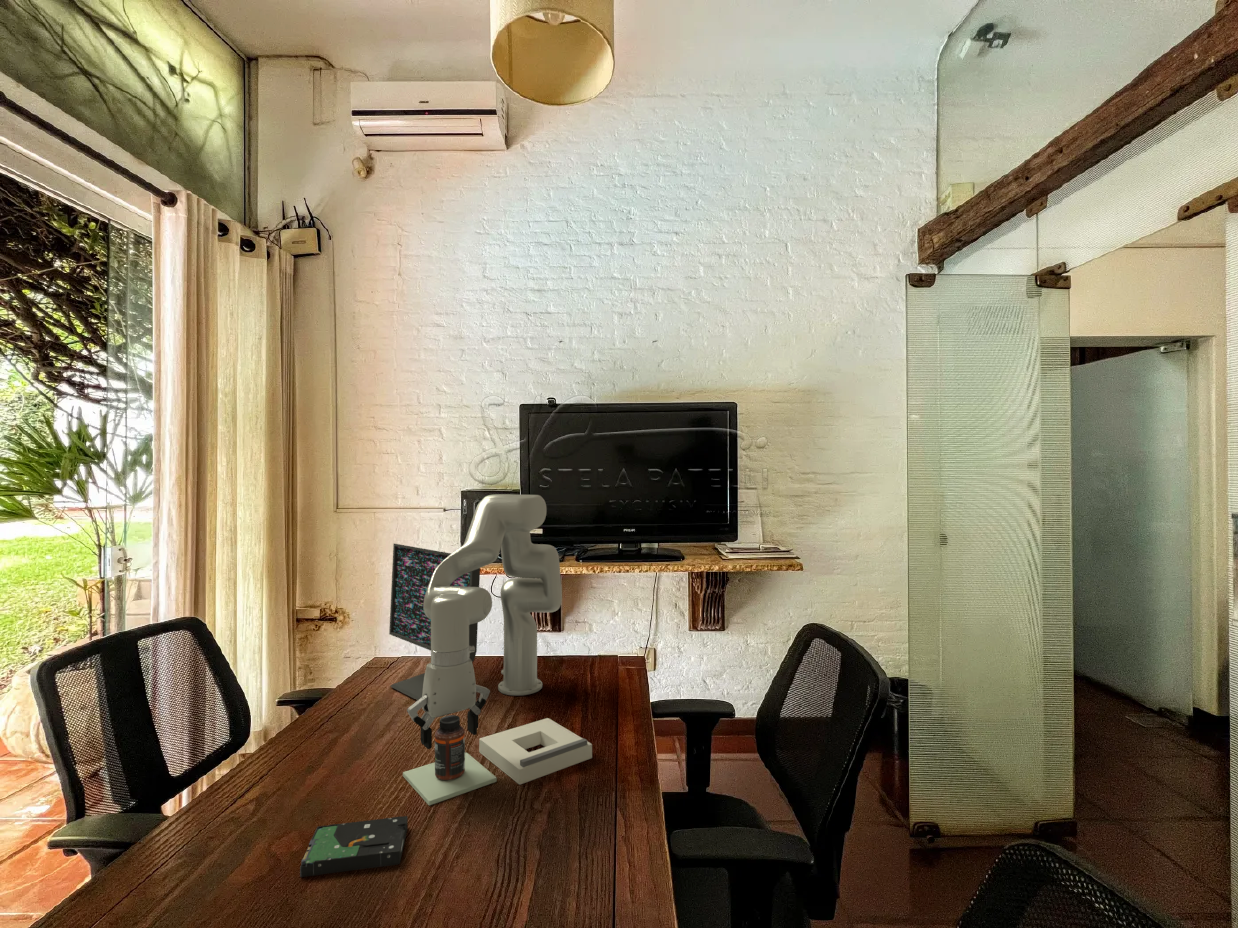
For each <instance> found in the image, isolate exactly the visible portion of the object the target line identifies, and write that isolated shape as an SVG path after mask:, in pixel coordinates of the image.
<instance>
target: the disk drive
mask: <svg viewBox="0 0 1238 928" xmlns="http://www.w3.org/2000/svg"><path fill="white" fill-rule="evenodd" d="M408 818H409V817H408V816H407V815H406V816H401V815H400V816H393V817H386V818H385V817H384V818H378V819H370V820H363V821H362V820H361V821H351V822H344V823H337V824H336V823H335V824H334V823H332V824H329V825H320V826H319V825H318V826H316V829H315V831H314V832H313V835H312V837H311V839H310V841H309V843H308V847H307V849H306V851H305V853H304V856H303V858H302V859H301V861H300V862H301V865H300V866H299V878H303V877H312V876H314V877H315V876H322V875H328V874H335V873H336V874H337V873H343V872H351V871H358V870H365V869H373V868H380V867H381V868H383V867H390V866H396V865H400V864H401V859H402V855H403V851H404V846H405V840H406V837H407V832H408V828H409V827H408V825H409V824H408Z"/></svg>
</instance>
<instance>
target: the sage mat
mask: <svg viewBox="0 0 1238 928" xmlns="http://www.w3.org/2000/svg"><path fill="white" fill-rule="evenodd" d="M402 777H403V778H404V779H405V780H406V781H407V783H409V785H410V786H411V787H412V788H413V789H414V790H415V792H416V793H417V794H418V795H419V796H420V797H421V798H422V800H423V801H424V802H425V803H426V804H427V805H428V806H432V805H435V804H438V803H441V802H443V801H446V800H448V799H452V798H455V797H457V796H460V795H463V794H466V793H468V792H472V791H474V790H476V789H479V788H482V787H485V786H488V785H490V784H494V783H496V782H498V781H497V780H498V779H497V776H496V775H494V774H493V773H492V772H491V771H489V769H487V768H486V767H485V766H484V765H482V764H481V763H480V762H479V761H478V760H476V759H475V758H474V757H473V756H471V754H470V753H468V752H466V751H465V771H464V773H463V774H462V775H461V776H460V777H458V778H456V779H453V780H440V779H438V778H437V777H436V776H435V761H434V762H431V763H429V764H425V765H422V766H419V767H415V768H413V769H410V770H406V771H403V772H402Z"/></svg>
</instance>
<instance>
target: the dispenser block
mask: <svg viewBox="0 0 1238 928" xmlns="http://www.w3.org/2000/svg"><path fill="white" fill-rule="evenodd" d="M540 745H541V746H543V747H541V748H538V749H536V750H531V751H527V749H529V748H530V749H531V748H534V747H536V746H540ZM478 752H479V753H480V755H482V756H484V757H485V758H486V759H487V760H488V761H489V762H491V763H492V764H493V765H494V766H496V767H497V768H498V769H500V771H502V772H503V773H505V774H506V775H507V776H508V777H510V778H511V779H512V780H513V781H514V782H515V783H516V784H518V785H522V784H525V783H528V782H531V781H534V780H536V779H539V778H541V777H544V776H547V775H550V774H553V773H556V772H557V771H561V770H563V769H567V768H568V767H571V766H574V765H577V764H579V763H583V762H585V761H587V760H590V759H593V744H592V743H591V742H589V741H588V739H586V738H583V737H581V736H579V735H577V734H576V733H574V732H573V731H571V730H570V729H567V728H566V727H564V726H562V725H560V724H559V723H557V722H556V721H554V720H552V719H551V718H548V717H546V718H543V719H540V720H536V721H533V722H530V723H527V724H523V725H520V726H519V725H518V726H517V727H513V728H510V729H506V730H502V731H500V732H497V733H493V734H490V735H487V736H483V737H480V738H479V741H478Z"/></svg>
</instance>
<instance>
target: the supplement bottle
mask: <svg viewBox="0 0 1238 928" xmlns="http://www.w3.org/2000/svg"><path fill="white" fill-rule="evenodd" d="M438 725H439V728H438V729H437V730H436V731H435V734H434V762H435V776H436V777H437V778H438V779H440V780H453V779H456V778H458V777H460V776H461V775H462V774H463V773H464V771H465V753H466V747H465V746H466V742H465V741H466V736H465V733H466V731H465V729H464V727H463V726H461V719H460V716H458V715H455V714H448V715H445V716H442V717H440V719H439V724H438Z"/></svg>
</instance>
